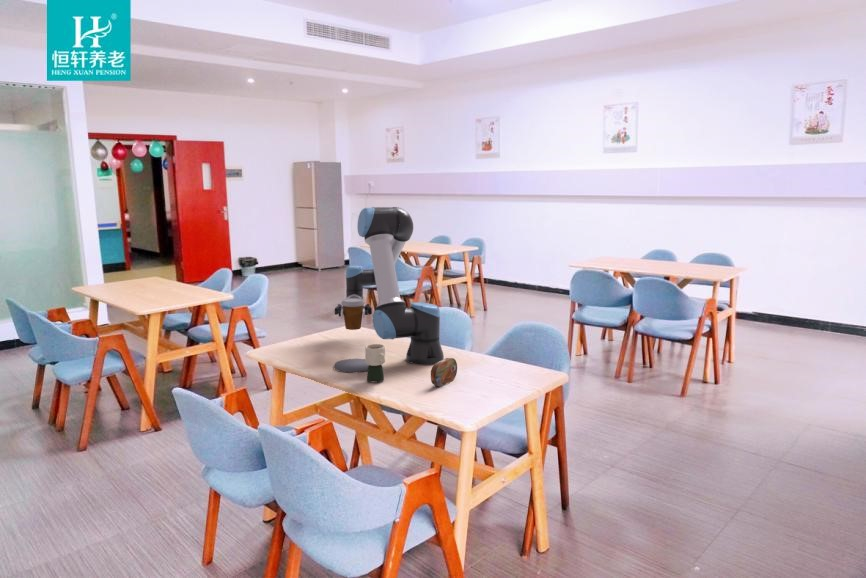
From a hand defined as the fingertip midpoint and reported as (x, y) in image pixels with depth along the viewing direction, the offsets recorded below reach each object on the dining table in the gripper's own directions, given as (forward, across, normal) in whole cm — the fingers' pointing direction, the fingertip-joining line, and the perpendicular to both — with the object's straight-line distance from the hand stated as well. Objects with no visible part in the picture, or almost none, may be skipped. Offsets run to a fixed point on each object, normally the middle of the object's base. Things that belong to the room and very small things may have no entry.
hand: (352, 315), depth 240 cm
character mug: (+30, -9, -18) cm, 36 cm away
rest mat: (+12, -1, -18) cm, 21 cm away
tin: (+34, -33, -18) cm, 51 cm away
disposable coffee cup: (-5, 0, -7) cm, 8 cm away
